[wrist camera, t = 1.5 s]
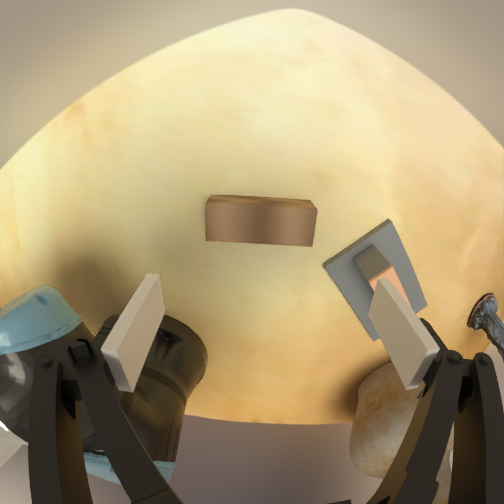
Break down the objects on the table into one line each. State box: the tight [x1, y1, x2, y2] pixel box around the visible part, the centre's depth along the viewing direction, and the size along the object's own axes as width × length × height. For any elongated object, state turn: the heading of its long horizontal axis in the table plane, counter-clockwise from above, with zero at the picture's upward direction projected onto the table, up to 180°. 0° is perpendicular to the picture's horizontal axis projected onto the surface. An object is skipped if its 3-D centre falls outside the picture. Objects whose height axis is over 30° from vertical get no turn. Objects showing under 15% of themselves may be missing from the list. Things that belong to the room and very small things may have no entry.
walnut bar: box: [206, 195, 317, 247], centre depth 30 cm, size 11×4×4 cm, turn 87°
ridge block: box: [323, 219, 427, 341], centre depth 32 cm, size 10×16×7 cm, turn 37°
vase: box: [349, 361, 454, 504], centre depth 30 cm, size 22×22×30 cm
